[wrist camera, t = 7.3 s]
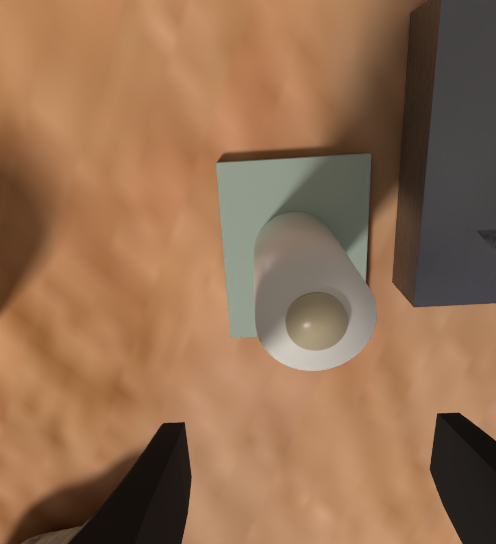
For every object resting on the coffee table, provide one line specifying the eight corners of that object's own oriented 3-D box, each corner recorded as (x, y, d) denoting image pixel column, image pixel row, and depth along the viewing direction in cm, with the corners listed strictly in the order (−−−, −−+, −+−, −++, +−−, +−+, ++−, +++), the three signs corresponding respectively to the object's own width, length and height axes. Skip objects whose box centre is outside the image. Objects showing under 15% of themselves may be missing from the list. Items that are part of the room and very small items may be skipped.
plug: (333, 288, 21) (374, 374, 14) (254, 290, 21) (256, 377, 14) (337, 210, 19) (385, 264, 13) (252, 212, 19) (253, 267, 13)
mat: (361, 327, 22) (363, 331, 22) (230, 333, 22) (230, 337, 22) (368, 152, 19) (371, 153, 18) (216, 162, 19) (216, 163, 19)
